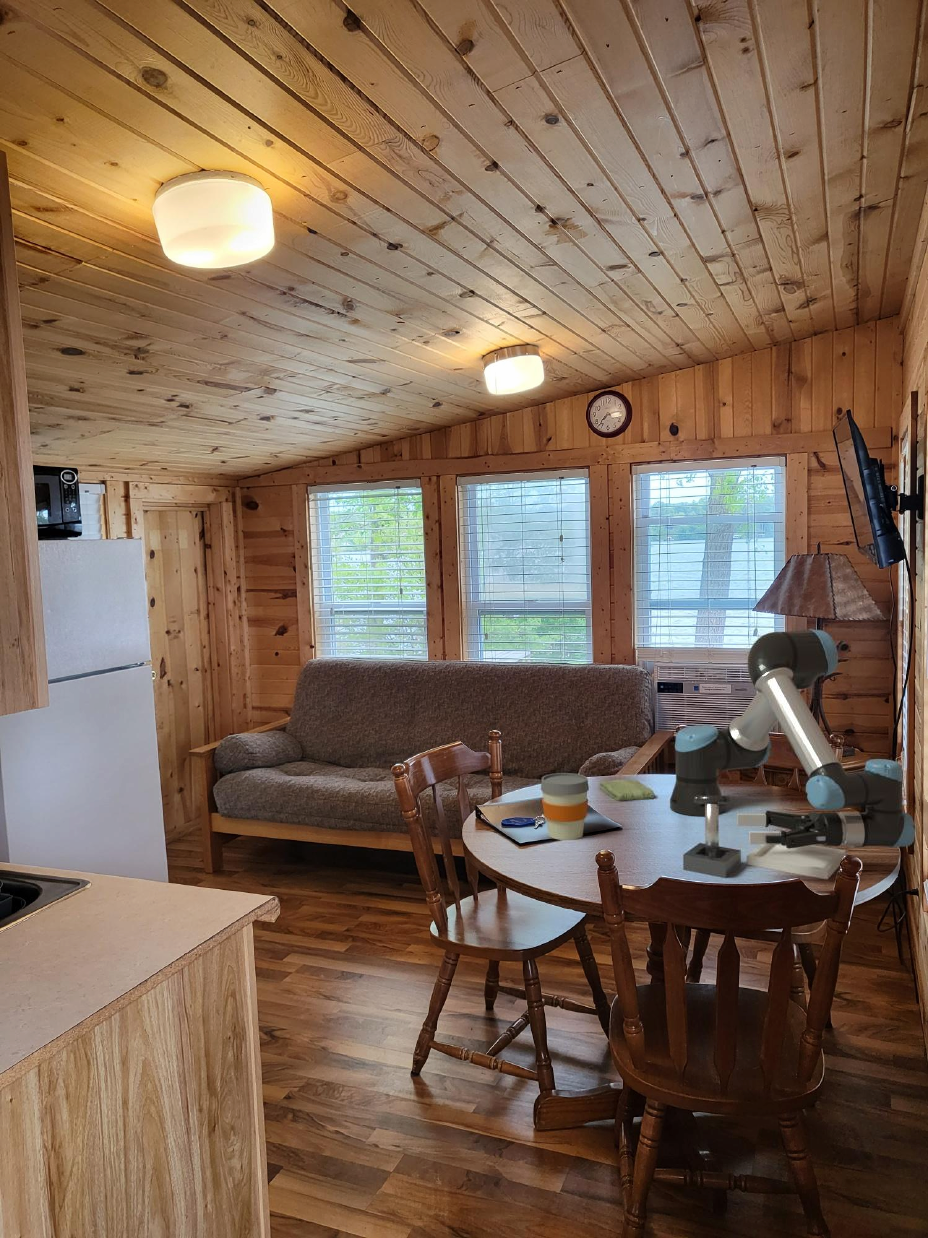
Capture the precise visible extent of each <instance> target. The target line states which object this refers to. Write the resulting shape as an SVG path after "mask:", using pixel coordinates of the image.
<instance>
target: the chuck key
mask: <svg viewBox="0 0 928 1238" xmlns="http://www.w3.org/2000/svg"><path fill="white" fill-rule="evenodd" d="M730 801H731V798H730V797H729V796H728V795H722V796H695V797H694V802H695V803H698V804H705V816H704V818H705V819H704V822H705V823H704V827H705V828H704V829H705V830H704V831H705V833H704V836H705V838H704V839H705V841H704V844H705V850H706V856H709V857H715V858H719V846H720V843H719V842H720V830H719V828H720V825H719V821H720V820H719V817H720V816H719V815H720V814H719V806H718V804H726V805H727V804H728V803H730Z"/></svg>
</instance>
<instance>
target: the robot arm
mask: <svg viewBox="0 0 928 1238" xmlns="http://www.w3.org/2000/svg"><path fill="white" fill-rule="evenodd" d="M838 660H839V655H838V648H837V645H836V643H835V641H834V639H833V637H832V636H831V635H830V634H829V633H828V632H826V631H824V630H822V629H811V628H810V629H805V630H789V631H772V632H767V633H766V634H763V635H762V636H760V637H758V638H757V639H756V640H755V641H754V643H753V644H752V646H751V647H750V649H749V652H748V656H747V671H748V675H749V679H750V681H751V683H752V685H753V686H754V689H755V690H756V691H757V692H756V694H755V695H754V697H753V699H752V700H751V701H750V703H749V705H748V706H747V707H746V709H745V711H744V712H743V713H742V715H741V716H737V717H736V716H735V718H734V719H732V720H731V722H729V725H728V726H727V727H726V728H723V729H718V728H717V727H716V726H714V725H711V724H710V725H708V724H701V725H690V726H687V727H684V728H682V729H680V730H678V731H677V733H676V735H675V743H674V749H675V784H674V786H673V790H672V793H671V795H670V799H669V808H670V810H671V811H673V812H675V813H677V814H682V815H687V816H694V817H695V816H696V817H705V804H698V803H695V802H694V797H695V796H723V795H722V791H721V788H720V786H719V780H718V779H719V771H721V772H722V771H731V770H740V769H753V768H756V767H759V766H763V764H765V763H766V762H767V761H768V759H769V757H770V755H771V751H770V749H771V748H772V743H771V739H770V735H769V734H770V733H771V731H772V730H773V729H774V727H775V725H777V723H778V724H779V725H780V727H781V729H782V731H783V732H784V734H785V736H786V738H787V740H788V742H789V744H790V745H791V747H792V749H793V750H794V753H795V755H796V756H797V757H798V758H797V759H798V760H799V762H800V764H801V765H802V767H803V769H804V771H805V772H806V774H807V777H808V778H809V779H808V781H807V782H806V784H805V793H806V794H807V796H806V797H807V800H808V802H809V804H810V805H811V806H812V807H813V808H814V809H816V810H819V811H822V812H820V814H819V816H818V819H817V820H811V819H810V816H809V815H807V814H795V813H788V812H781V811H774V810H773V811H771V810H766V811H765V813H736V821H737V822H736V825H737V826H738V827H739V826H741V827H745V826H746V827H765V828H768V827H769V826H772V827H778V828H782V829H787V830H789V831H785V830H782V829H781V830H780V831H761V830H759V831H750V830H749V832H748V834H749V835H748V837H749V838H748V840H749V841H748V844H749V845H760V844H764V845H780V844H781V845H783V846H786V848H788V849H790V848H797V847H802V846H808V845H823V847H840V846H842V847H850V849H855V847H878V848H879V847H883V848H884V847H885V848H886V847H887V848H896V847H897V848H902V847H909V846H910V845H912V844H913V842H914V840H915V836H916V829H915V822H914V820H913V817H912V815H911V814H909V813H907V812H904V811H903V788H904V787H903V784H904V778H903V777H904V775H903V767H902V765H901V764H900V763H899V762H897V761H894V760H893V759H892V760H890V759H885V758H873V759H872V758H871V759H869V760H867V761H866V763H865V767H864V770H863V771H853V772H846V771H845V768H844V767H843V766H842V764H841V763H840V761H839V759H838V757H837V755H836V754H835V752H834V750H833V748H832V747H831V745H830V743H829V742H828V740H827V738H826V737H825V735H824V733H823V731H822V729H821V728H820V726H819V724H818V722H817V720H816V719H815V717H814V716H813V713H812V711H811V710H810V709H809V706H808V705H807V703H806V701H805V700H804V698H803V696H802V694H801V693H800V691H803V690H807V689H809V688H811V687H812V686H813V684H814V682H816V681H817V679H818V678H819V677H820V676H825V677H826V676H828V675H831V674H833V672H835V670H836V669H837V666H838V662H839V661H838ZM718 806H719V815H720V814H723V812H725V808H726V807H725V804H718ZM864 806H865V812H857V811H854V812H853V811H840V812H838V813H837V812H835V811H837V810H841V809H848V808H857V807H864ZM824 811H825V812H824ZM828 811H829V812H828ZM831 811H833V812H831Z"/></svg>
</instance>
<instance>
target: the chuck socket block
mask: <svg viewBox="0 0 928 1238" xmlns="http://www.w3.org/2000/svg"><path fill="white" fill-rule="evenodd" d="M682 857H683V858H682V862H683V863H682V865H683V866H682V867H683V868H682V869H683V870H685V871H687V872H688V871H689V872H694V873H698V874H699V873H700V874H705V875H707V876H708V875H709V876H713V877H714V876H715V877H719V878H725V879H726V878H727V877H728V876H730V875H731V874H732V873H733V872H735V871H736V870H737V869H738V868H740V867H741V865H742V850H741V849H738V848H737V849H736V848H731V847H727V846H720V845H719V858H715V857H709V856H706V850H705V843H703V842H699V843H698V844H696V845H695V846H693V847H692V848H691V849H689V850H687V851H686V852H685V853H684V854H682Z"/></svg>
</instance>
